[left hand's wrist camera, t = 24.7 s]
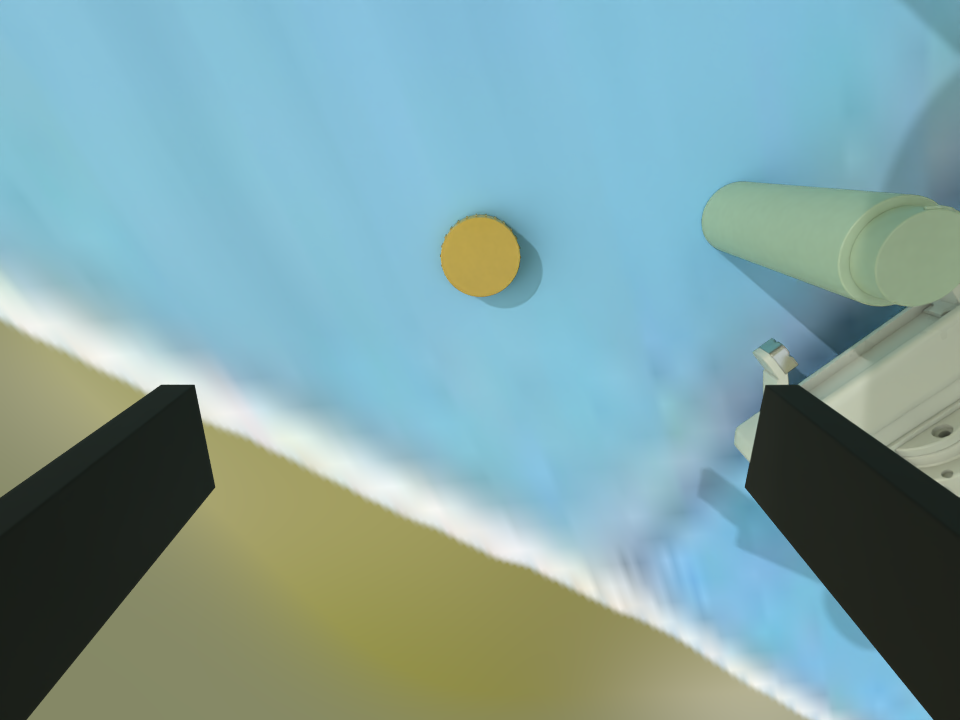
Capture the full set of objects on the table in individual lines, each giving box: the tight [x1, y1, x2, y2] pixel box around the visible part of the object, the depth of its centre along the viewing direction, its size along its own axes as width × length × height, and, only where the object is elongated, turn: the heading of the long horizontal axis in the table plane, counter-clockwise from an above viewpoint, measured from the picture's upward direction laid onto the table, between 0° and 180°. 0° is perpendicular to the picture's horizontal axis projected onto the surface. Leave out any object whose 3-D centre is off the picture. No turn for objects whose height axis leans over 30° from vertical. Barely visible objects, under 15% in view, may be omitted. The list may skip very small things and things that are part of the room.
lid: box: [440, 214, 521, 297], centre depth 38 cm, size 6×6×2 cm
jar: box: [702, 182, 960, 307], centre depth 30 cm, size 5×5×17 cm
